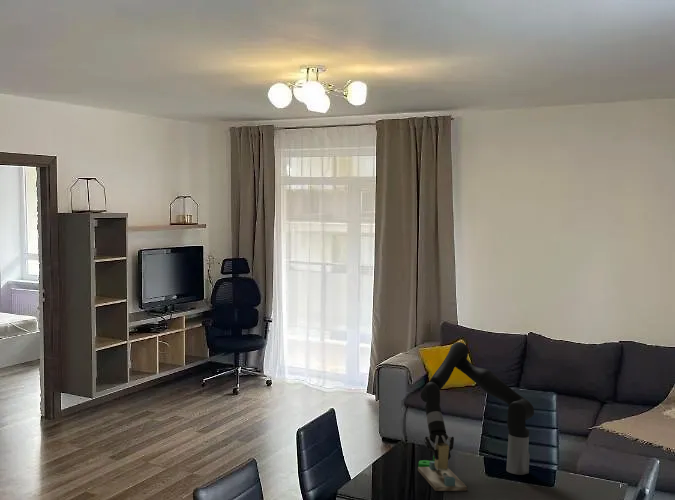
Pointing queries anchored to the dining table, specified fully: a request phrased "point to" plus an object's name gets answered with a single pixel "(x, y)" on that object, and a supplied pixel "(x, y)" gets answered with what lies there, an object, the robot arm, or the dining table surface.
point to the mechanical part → (425, 463)
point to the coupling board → (441, 478)
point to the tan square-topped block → (442, 456)
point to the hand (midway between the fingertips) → (442, 459)
